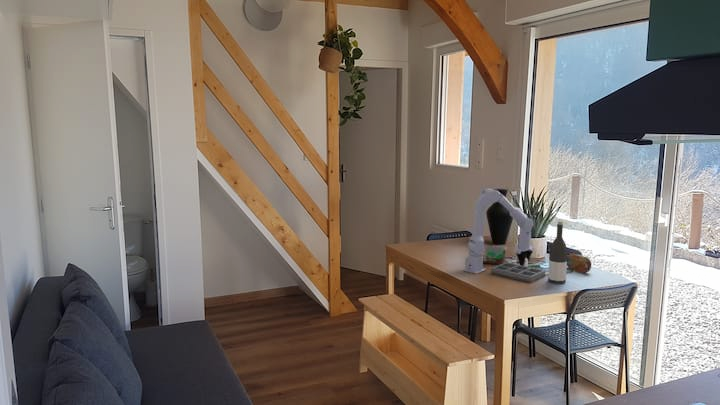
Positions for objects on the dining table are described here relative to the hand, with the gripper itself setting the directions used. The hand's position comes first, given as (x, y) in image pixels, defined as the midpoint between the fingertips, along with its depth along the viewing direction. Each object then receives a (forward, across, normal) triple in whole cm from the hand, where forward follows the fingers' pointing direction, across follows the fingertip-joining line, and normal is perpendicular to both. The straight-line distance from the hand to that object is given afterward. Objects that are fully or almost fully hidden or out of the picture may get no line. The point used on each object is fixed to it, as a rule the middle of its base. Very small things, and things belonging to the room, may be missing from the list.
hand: (523, 264), depth 272 cm
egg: (+2, 0, 0) cm, 2 cm away
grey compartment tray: (+2, -14, -4) cm, 15 cm away
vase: (+2, +41, +38) cm, 56 cm away
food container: (+2, -3, +16) cm, 16 cm away
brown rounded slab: (+2, +15, -23) cm, 28 cm away
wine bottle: (+2, -11, -23) cm, 26 cm away
